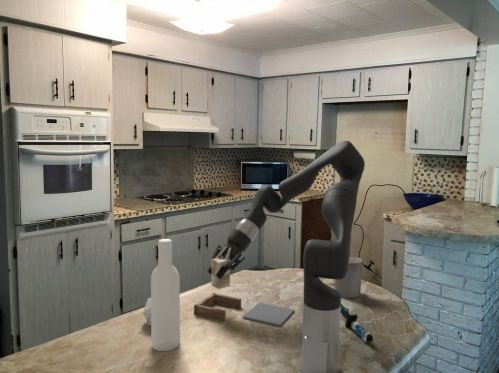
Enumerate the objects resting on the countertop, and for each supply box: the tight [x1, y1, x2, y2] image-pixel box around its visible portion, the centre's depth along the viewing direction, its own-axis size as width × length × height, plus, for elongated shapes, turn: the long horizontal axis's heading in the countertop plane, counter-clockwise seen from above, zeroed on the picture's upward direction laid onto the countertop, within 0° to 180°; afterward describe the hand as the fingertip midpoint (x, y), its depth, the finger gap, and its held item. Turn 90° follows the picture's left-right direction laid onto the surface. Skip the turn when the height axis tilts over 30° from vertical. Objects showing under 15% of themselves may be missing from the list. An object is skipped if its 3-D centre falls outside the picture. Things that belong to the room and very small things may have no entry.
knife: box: [340, 303, 374, 343], centre depth 132 cm, size 31×3×4 cm, turn 11°
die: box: [142, 297, 151, 327], centre depth 130 cm, size 8×9×10 cm
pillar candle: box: [333, 255, 363, 299], centre depth 157 cm, size 10×10×15 cm
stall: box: [193, 292, 242, 322], centre depth 140 cm, size 12×11×3 cm
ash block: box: [210, 256, 231, 290], centre depth 139 cm, size 4×4×9 cm
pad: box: [242, 302, 295, 327], centre depth 138 cm, size 13×13×1 cm
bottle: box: [150, 238, 181, 352], centre depth 115 cm, size 8×8×30 cm
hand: (213, 275), depth 137 cm, fingers closed on ash block, 4 cm apart
